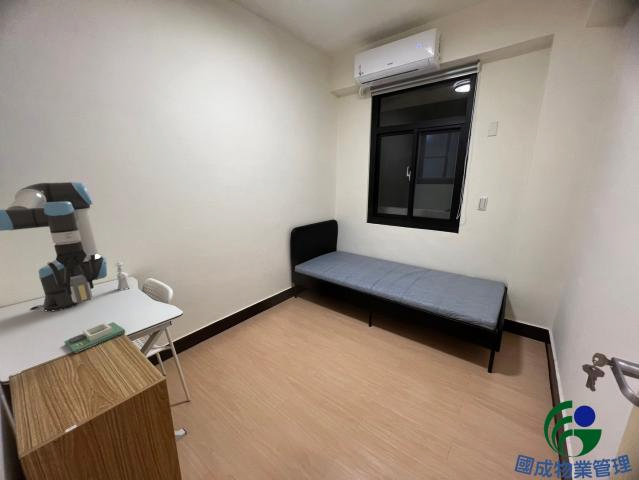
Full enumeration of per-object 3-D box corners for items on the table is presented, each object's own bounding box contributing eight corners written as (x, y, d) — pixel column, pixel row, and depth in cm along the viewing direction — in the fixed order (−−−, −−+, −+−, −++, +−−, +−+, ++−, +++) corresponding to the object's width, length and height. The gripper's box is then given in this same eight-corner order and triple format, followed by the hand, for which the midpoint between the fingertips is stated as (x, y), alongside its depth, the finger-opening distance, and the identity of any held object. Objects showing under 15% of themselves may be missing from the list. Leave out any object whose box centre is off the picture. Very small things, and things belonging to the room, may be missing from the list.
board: (65, 344, 99) (63, 336, 98) (113, 325, 112) (112, 317, 112) (75, 354, 93) (72, 345, 92) (125, 332, 106) (123, 324, 105)
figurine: (116, 288, 154) (109, 261, 150) (131, 284, 160) (125, 257, 156) (118, 291, 150) (112, 263, 146) (134, 287, 156) (129, 259, 152)
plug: (75, 301, 99) (68, 277, 97) (88, 297, 102) (82, 274, 100) (78, 304, 96) (72, 279, 94) (91, 299, 100) (85, 276, 97)
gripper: (37, 248, 85) (55, 310, 90) (99, 238, 99) (112, 293, 104) (32, 246, 89) (50, 305, 94) (93, 237, 103) (106, 289, 108)
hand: (82, 299), depth 99 cm, fingers closed on plug, 4 cm apart
